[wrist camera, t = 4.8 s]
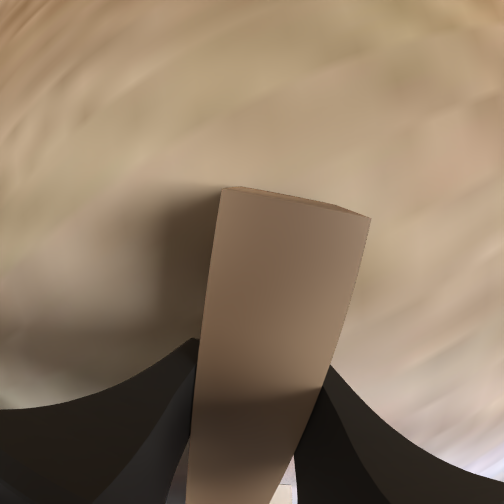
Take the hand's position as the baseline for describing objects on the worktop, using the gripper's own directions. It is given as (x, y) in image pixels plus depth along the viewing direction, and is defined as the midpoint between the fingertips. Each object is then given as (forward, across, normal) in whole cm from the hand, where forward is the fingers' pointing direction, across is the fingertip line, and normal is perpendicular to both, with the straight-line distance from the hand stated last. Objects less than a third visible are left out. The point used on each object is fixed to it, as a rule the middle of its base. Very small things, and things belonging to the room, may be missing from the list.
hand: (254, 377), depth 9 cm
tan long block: (+2, 0, +2) cm, 3 cm away
